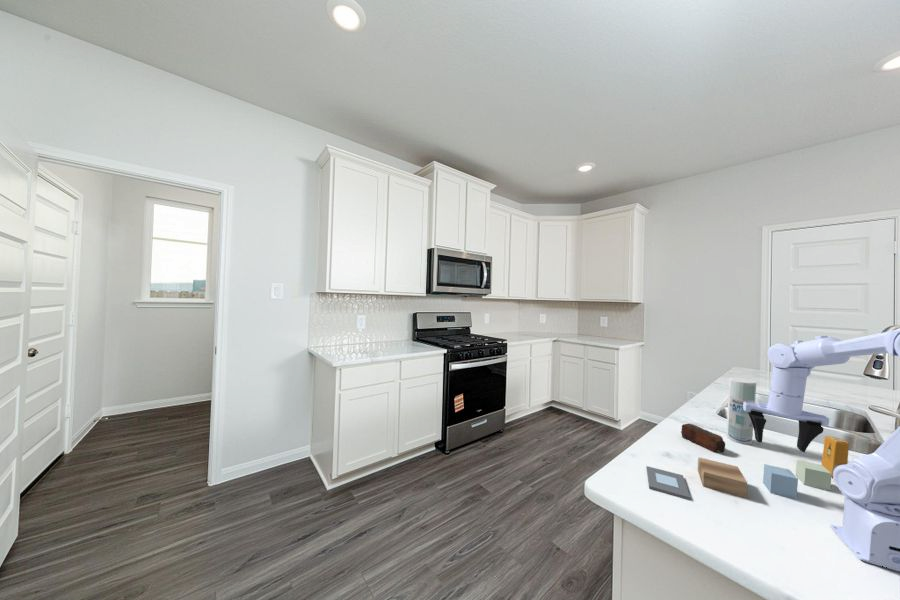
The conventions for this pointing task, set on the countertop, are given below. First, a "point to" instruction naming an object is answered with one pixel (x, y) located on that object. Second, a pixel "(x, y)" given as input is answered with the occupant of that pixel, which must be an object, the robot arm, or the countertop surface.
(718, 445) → the brick
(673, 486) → the card
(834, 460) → the supplement box
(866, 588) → the countertop surface
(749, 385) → the spray can
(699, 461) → the base block
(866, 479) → the robot arm
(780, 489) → the slate block
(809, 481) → the sage block
